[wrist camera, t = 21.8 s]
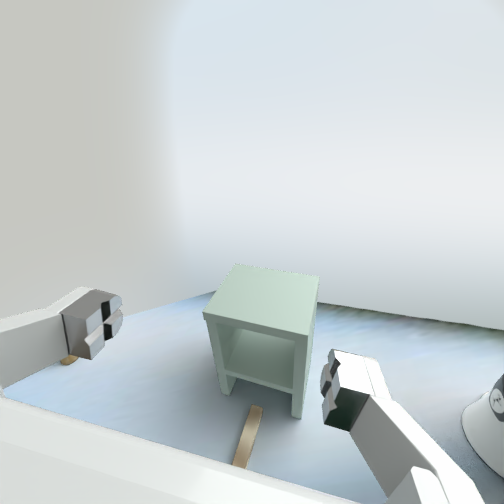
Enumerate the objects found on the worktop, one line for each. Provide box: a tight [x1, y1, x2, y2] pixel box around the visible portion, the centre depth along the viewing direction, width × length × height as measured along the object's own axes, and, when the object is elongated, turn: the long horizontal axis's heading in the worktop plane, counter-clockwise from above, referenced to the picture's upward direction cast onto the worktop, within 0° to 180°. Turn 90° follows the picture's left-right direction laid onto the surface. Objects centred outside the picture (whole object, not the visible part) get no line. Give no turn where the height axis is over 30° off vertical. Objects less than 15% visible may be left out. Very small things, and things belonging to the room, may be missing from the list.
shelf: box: [202, 264, 320, 419], centre depth 54 cm, size 18×15×26 cm
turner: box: [232, 404, 263, 469], centre depth 45 cm, size 23×7×2 cm, turn 161°
